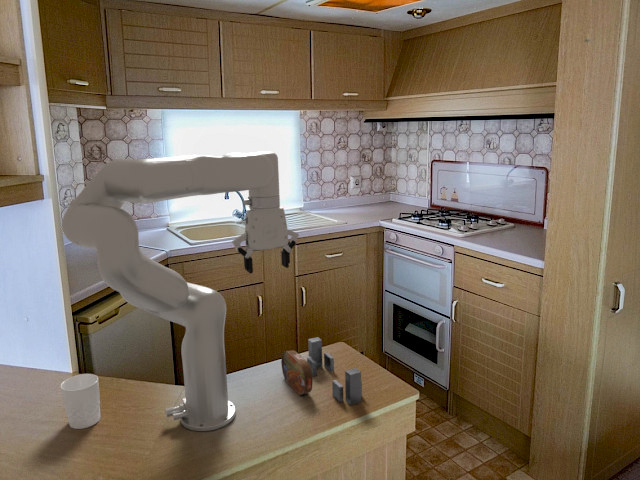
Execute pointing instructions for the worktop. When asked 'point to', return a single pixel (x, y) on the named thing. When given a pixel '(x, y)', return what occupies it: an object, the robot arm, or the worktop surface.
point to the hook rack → (351, 376)
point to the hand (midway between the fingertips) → (267, 269)
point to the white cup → (81, 400)
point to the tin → (297, 372)
